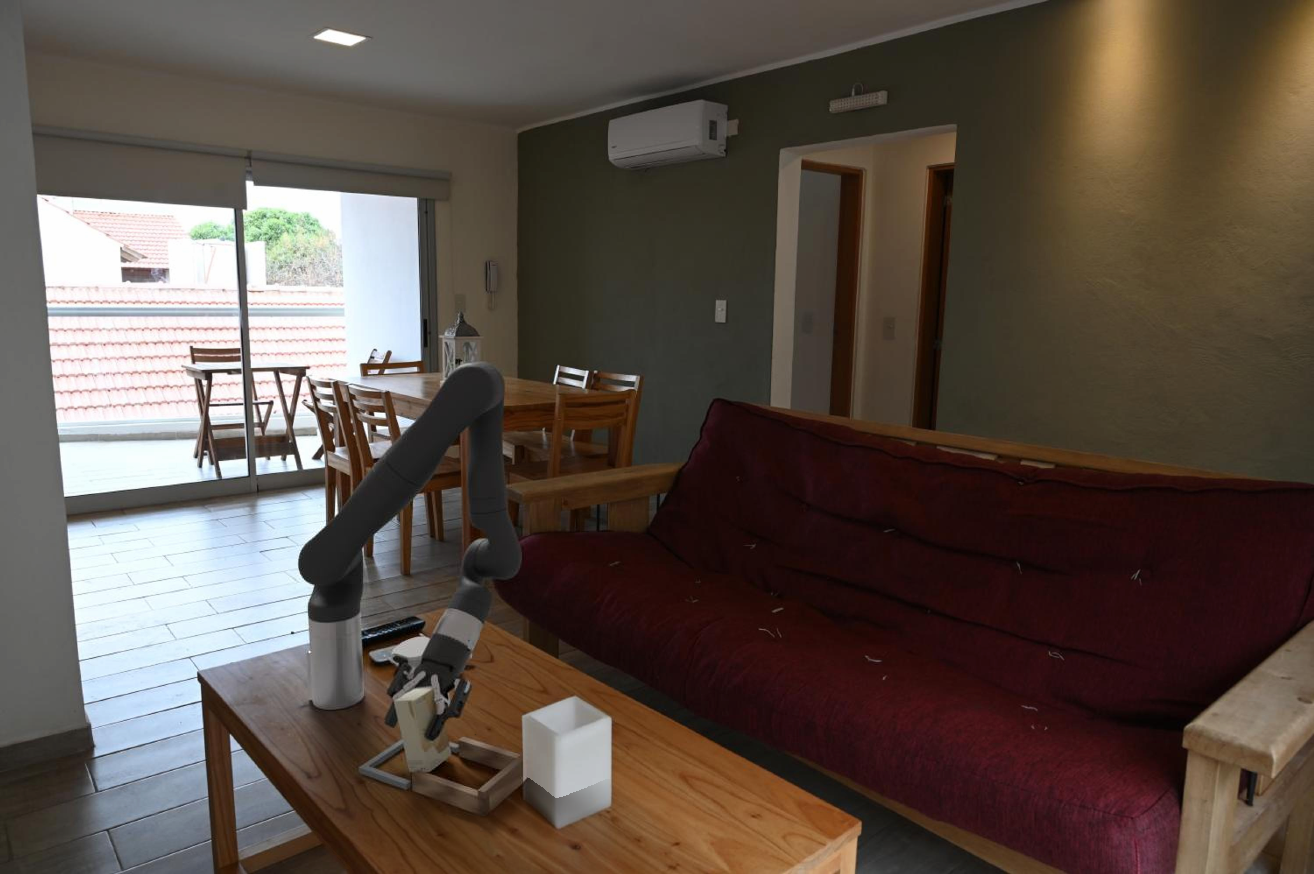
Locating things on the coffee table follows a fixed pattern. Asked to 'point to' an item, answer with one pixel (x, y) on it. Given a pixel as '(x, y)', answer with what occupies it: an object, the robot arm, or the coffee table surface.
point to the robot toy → (410, 652)
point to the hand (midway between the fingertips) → (408, 732)
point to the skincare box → (420, 730)
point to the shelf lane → (488, 793)
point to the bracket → (386, 777)
